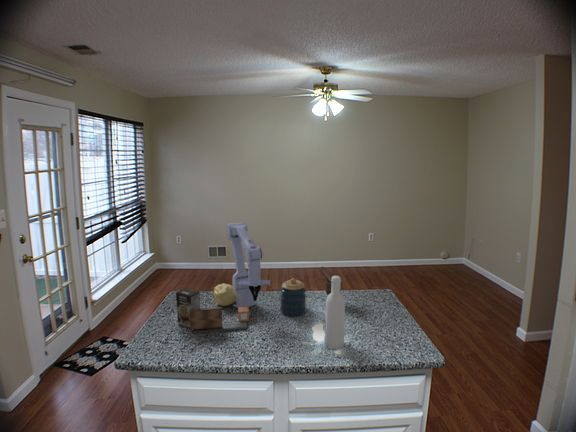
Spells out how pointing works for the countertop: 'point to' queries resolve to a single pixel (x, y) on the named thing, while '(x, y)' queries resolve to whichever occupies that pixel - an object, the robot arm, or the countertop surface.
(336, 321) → the bottle
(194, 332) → the rail
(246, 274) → the robot arm
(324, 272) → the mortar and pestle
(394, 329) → the countertop surface
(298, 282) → the canister
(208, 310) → the panel
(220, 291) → the sculpture
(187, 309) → the coffee box
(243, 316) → the cube
